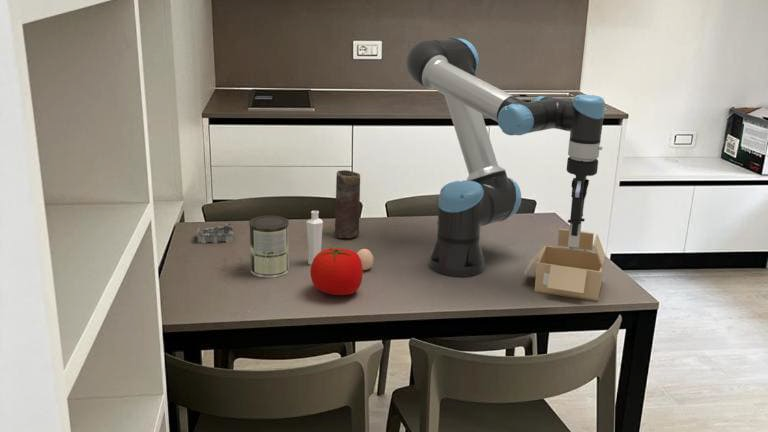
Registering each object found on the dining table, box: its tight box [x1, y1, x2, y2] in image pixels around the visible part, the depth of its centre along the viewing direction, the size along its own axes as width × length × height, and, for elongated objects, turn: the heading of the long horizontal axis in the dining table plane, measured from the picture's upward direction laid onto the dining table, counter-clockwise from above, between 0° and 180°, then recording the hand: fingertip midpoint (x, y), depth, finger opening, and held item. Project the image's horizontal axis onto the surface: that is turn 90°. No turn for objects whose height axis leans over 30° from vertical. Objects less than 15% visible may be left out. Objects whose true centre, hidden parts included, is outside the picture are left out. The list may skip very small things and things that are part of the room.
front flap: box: [547, 265, 587, 293], centre depth 200 cm, size 9×1×6 cm, turn 71°
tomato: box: [310, 247, 364, 296], centre depth 200 cm, size 13×14×12 cm
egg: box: [356, 248, 375, 271], centre depth 216 cm, size 5×5×6 cm
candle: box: [334, 169, 361, 239], centre depth 238 cm, size 8×7×20 cm
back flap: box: [557, 227, 595, 251], centre depth 211 cm, size 9×1×6 cm, turn 71°
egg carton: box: [196, 222, 234, 244], centre depth 235 cm, size 11×8×4 cm
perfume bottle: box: [305, 210, 324, 266], centre depth 217 cm, size 5×4×15 cm
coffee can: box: [248, 214, 290, 279], centre depth 211 cm, size 10×10×14 cm
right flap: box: [593, 233, 606, 266], centre depth 204 cm, size 1×8×6 cm, turn 159°
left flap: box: [523, 247, 544, 276], centre depth 210 cm, size 1×8×6 cm
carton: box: [533, 245, 606, 303], centre depth 208 cm, size 16×14×8 cm
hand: (573, 245), depth 206 cm, fingers closed
